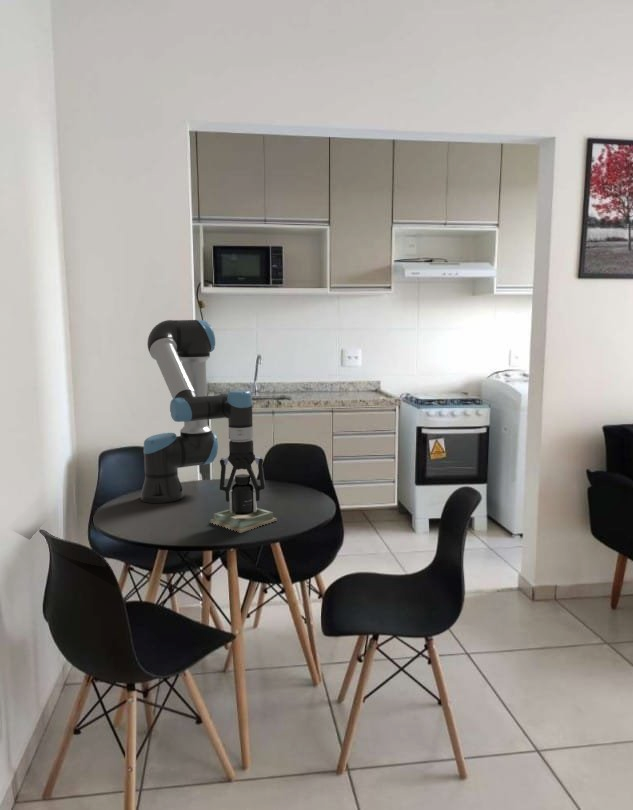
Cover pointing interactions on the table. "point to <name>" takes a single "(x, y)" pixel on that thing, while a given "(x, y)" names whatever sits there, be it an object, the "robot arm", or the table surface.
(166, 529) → the table surface
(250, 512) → the supplement bottle
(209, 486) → the table surface
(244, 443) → the robot arm
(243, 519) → the green square tray
